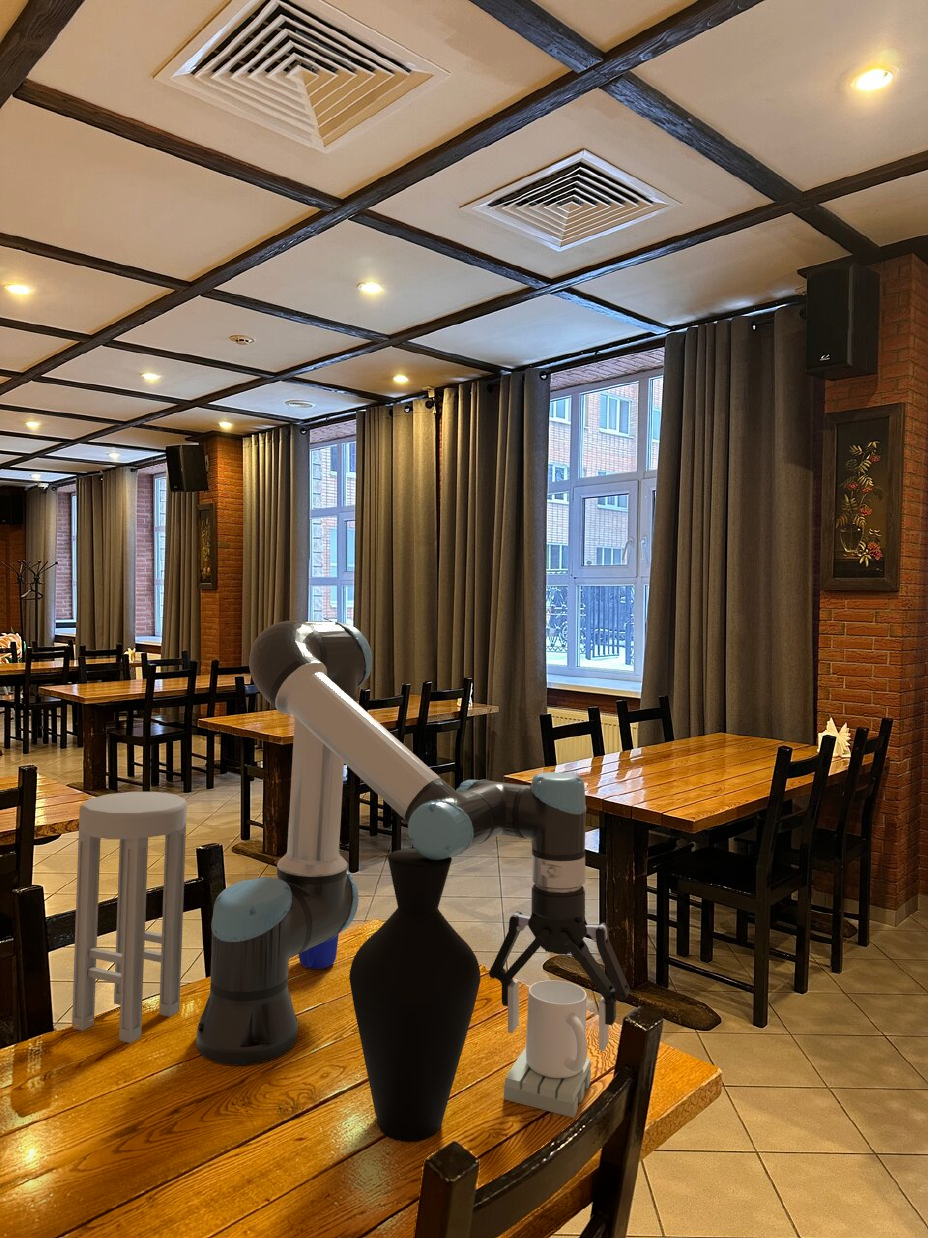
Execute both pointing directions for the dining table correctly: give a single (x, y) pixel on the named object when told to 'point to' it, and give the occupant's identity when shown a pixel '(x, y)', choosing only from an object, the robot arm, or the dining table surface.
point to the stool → (129, 904)
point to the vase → (413, 1001)
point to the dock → (546, 1088)
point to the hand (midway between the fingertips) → (557, 1037)
